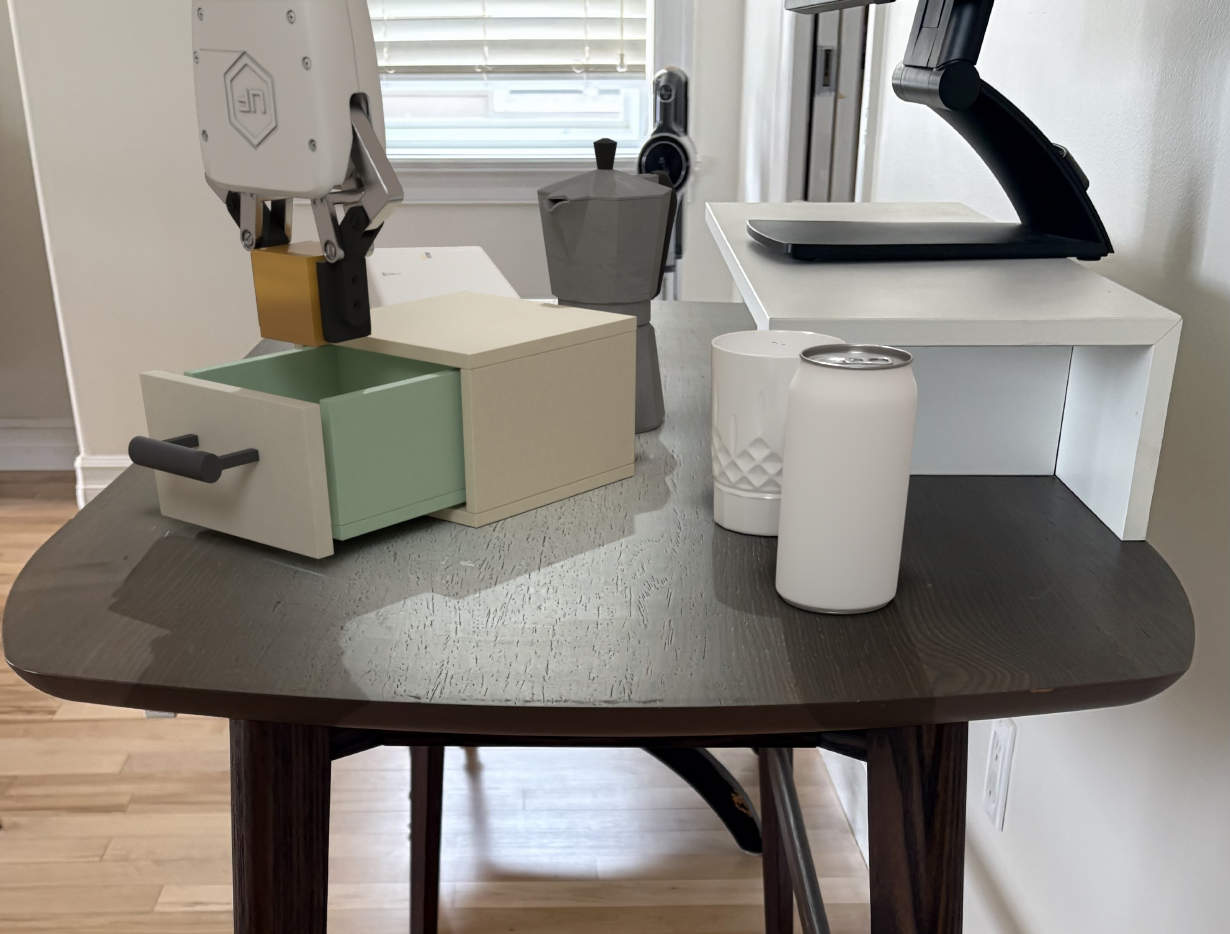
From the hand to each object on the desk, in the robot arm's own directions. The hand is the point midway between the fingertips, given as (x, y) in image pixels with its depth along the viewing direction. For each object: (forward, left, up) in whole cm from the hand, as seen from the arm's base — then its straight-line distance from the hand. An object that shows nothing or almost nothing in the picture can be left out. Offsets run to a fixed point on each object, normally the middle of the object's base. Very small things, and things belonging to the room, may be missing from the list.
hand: (315, 329), depth 89 cm
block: (0, 0, 0) cm, 0 cm away
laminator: (+21, +45, -11) cm, 51 cm away
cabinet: (+11, +6, -11) cm, 17 cm away
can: (+22, -23, -11) cm, 33 cm away
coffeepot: (+26, +19, -11) cm, 34 cm away
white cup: (+25, -9, -11) cm, 29 cm away
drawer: (-2, -1, -10) cm, 10 cm away
